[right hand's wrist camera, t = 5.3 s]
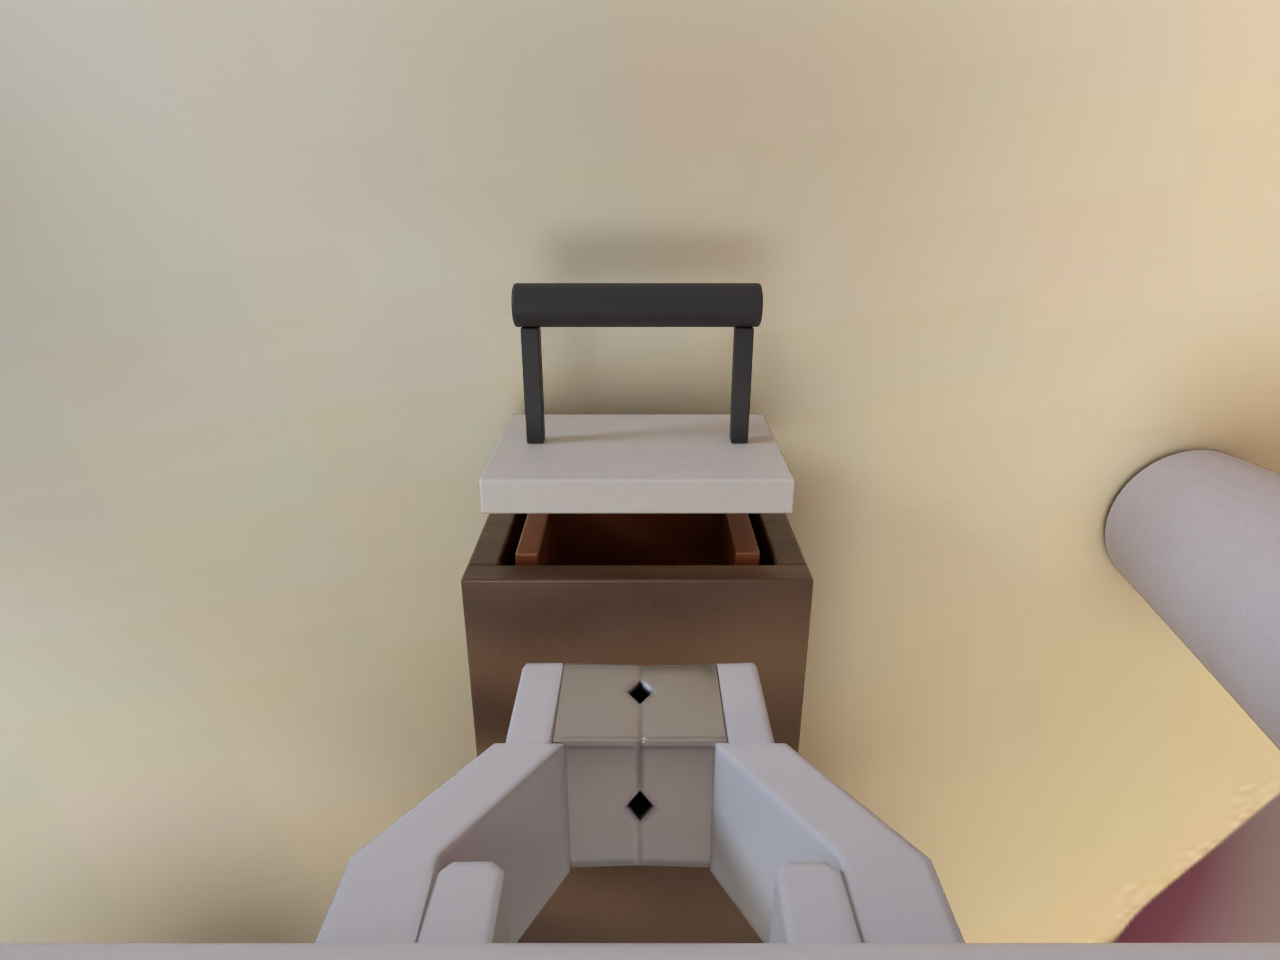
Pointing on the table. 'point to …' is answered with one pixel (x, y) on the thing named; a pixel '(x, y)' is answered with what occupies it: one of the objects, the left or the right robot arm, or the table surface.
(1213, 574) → the coffee cup
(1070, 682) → the table surface
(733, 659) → the wooden drawer box
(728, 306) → the drawer
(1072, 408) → the table surface
